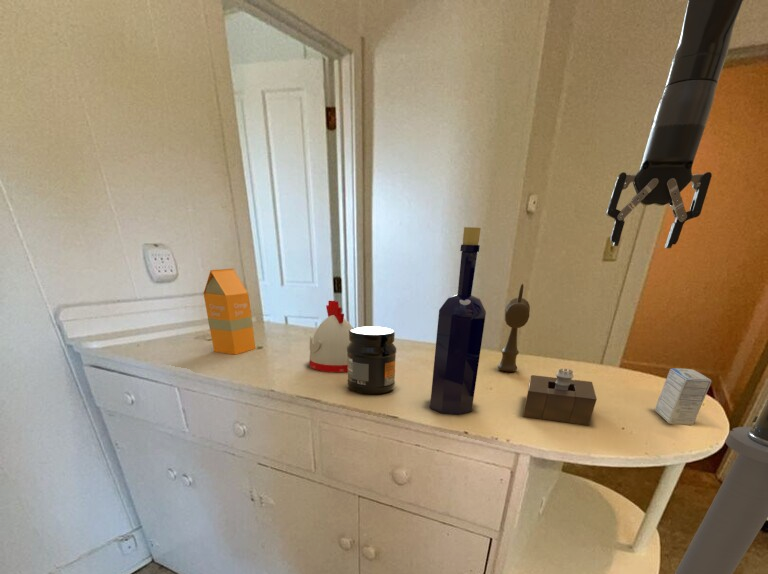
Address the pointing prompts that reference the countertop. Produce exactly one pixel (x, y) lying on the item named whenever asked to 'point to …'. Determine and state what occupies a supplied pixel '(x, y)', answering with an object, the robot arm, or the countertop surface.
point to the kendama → (514, 330)
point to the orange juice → (228, 312)
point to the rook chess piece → (563, 379)
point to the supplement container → (371, 360)
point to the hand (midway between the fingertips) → (641, 247)
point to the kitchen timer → (331, 342)
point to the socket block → (560, 400)
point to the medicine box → (682, 396)
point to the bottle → (459, 338)
